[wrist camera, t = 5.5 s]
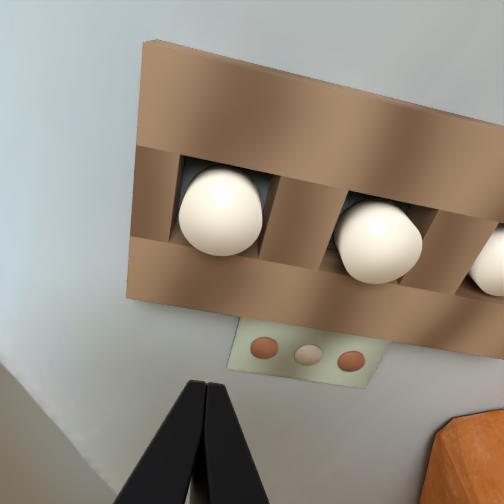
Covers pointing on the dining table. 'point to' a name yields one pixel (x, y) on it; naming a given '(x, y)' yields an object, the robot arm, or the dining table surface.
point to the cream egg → (221, 211)
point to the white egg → (491, 264)
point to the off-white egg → (377, 241)
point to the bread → (467, 462)
